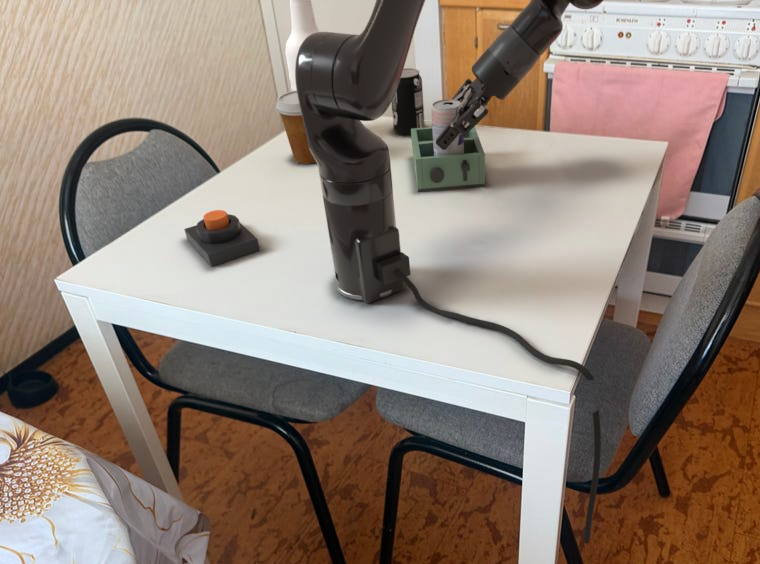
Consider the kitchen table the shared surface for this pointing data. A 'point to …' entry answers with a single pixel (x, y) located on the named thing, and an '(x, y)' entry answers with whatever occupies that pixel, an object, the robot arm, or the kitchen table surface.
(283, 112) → the disposable coffee cup
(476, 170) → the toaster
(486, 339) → the kitchen table surface
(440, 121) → the energy drink
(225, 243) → the control box
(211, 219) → the button
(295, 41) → the alcohol
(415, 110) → the beverage can
